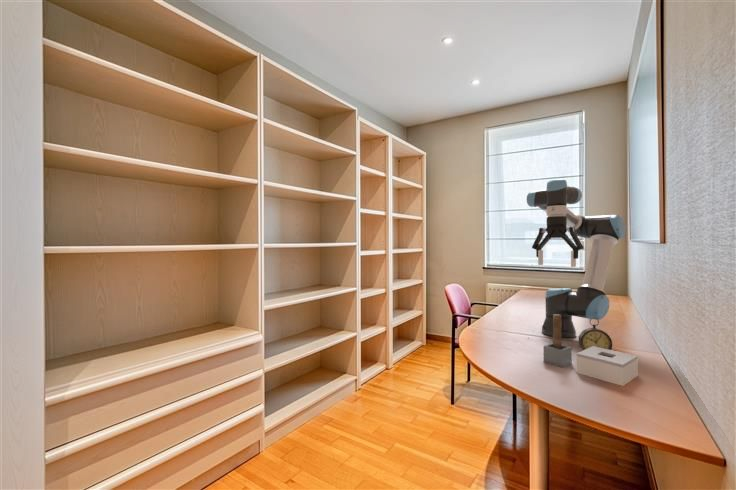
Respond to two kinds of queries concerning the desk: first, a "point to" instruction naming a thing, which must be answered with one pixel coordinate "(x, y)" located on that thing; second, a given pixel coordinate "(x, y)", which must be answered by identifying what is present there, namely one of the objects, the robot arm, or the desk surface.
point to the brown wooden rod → (557, 331)
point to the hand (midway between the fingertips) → (556, 265)
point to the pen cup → (558, 355)
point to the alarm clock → (594, 338)
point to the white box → (607, 365)
